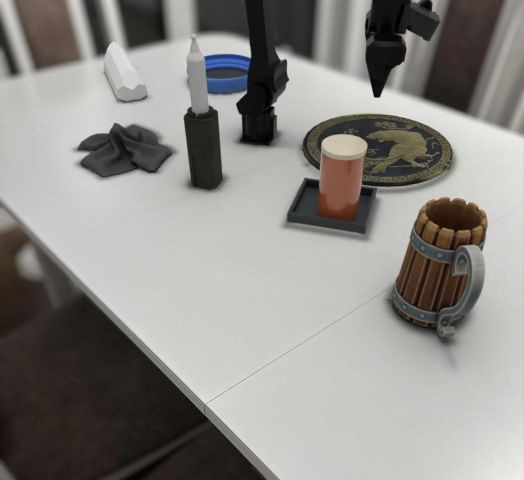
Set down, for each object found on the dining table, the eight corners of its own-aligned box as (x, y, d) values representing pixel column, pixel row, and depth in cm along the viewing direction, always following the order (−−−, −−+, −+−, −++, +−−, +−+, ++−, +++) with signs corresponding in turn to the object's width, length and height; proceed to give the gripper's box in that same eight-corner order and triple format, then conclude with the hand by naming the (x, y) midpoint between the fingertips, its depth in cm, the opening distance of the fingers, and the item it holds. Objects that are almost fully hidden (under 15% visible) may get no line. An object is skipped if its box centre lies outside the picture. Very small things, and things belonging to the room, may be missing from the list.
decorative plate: (291, 174, 98) (313, 107, 118) (291, 183, 99) (312, 115, 119) (457, 190, 94) (450, 118, 114) (454, 200, 95) (448, 127, 115)
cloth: (179, 168, 104) (175, 138, 99) (82, 184, 100) (73, 153, 96) (159, 121, 118) (155, 93, 114) (74, 133, 115) (66, 104, 110)
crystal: (92, 55, 137) (107, 88, 121) (113, 36, 136) (131, 68, 120) (112, 79, 142) (129, 114, 127) (132, 61, 141) (152, 95, 126)
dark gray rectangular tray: (286, 226, 90) (287, 213, 88) (304, 189, 98) (304, 177, 96) (363, 238, 87) (365, 225, 85) (375, 200, 95) (377, 187, 93)
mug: (382, 283, 79) (400, 193, 68) (451, 278, 80) (480, 189, 69) (411, 360, 69) (437, 269, 58) (490, 354, 69) (531, 263, 58)
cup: (312, 219, 89) (317, 152, 81) (321, 198, 94) (326, 131, 85) (354, 226, 88) (363, 158, 79) (361, 204, 93) (370, 137, 84)
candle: (224, 177, 101) (214, 30, 83) (214, 190, 98) (201, 40, 80) (200, 172, 103) (185, 27, 84) (189, 185, 99) (171, 37, 81)
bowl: (258, 94, 128) (258, 79, 125) (184, 94, 128) (182, 79, 126) (259, 67, 140) (259, 52, 138) (191, 67, 141) (190, 53, 138)
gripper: (450, 3, 77) (425, 111, 89) (437, -29, 90) (417, 70, 101) (373, 0, 78) (359, 107, 89) (371, -31, 91) (359, 67, 102)
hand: (376, 87), depth 95 cm, fingers open, 9 cm apart
